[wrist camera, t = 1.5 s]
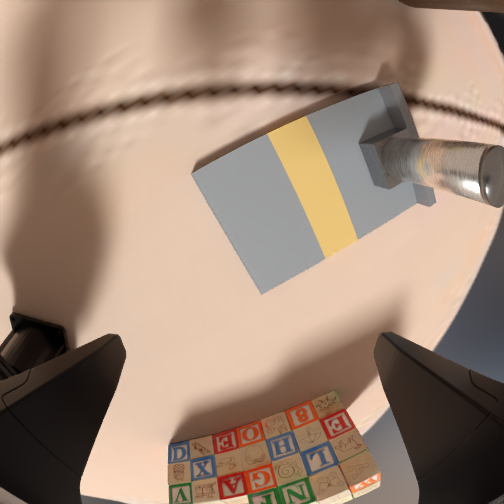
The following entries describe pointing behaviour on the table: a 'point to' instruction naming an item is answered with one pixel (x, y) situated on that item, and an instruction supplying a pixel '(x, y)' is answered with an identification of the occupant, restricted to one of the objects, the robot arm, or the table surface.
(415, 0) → the plant pot
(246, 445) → the stack of blocks
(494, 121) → the table surface
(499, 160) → the lever handle
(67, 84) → the table surface
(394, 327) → the table surface
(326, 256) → the plate
